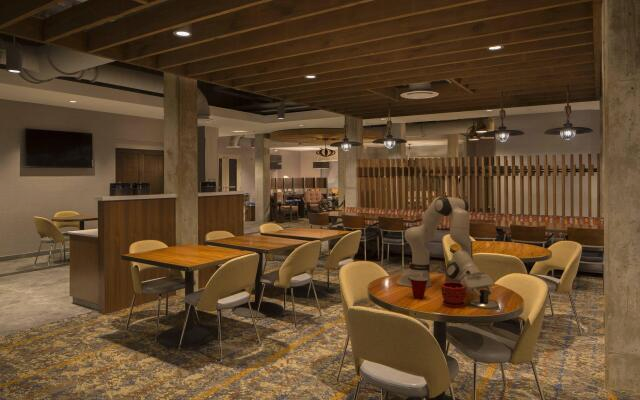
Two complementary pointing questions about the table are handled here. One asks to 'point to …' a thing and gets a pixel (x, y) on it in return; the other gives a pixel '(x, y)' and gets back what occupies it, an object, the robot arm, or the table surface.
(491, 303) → the lid
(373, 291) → the table surface
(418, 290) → the plastic cup
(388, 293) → the table surface
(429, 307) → the table surface
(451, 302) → the plant pot
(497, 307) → the mat
